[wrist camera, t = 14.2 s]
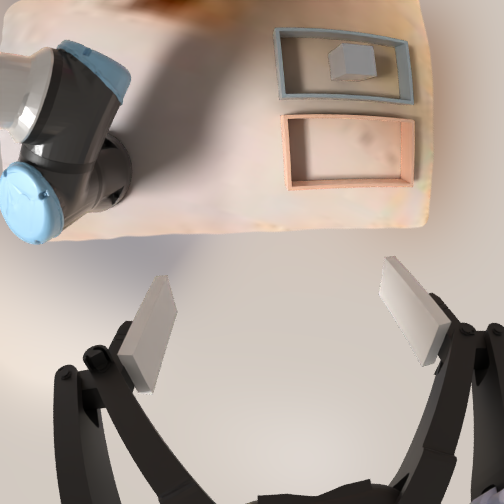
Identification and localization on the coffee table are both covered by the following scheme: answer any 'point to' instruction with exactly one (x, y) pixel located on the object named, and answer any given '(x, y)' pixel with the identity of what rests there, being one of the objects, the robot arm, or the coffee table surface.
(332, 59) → the stone block
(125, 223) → the coffee table surface
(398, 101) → the trough
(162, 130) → the coffee table surface
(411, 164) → the trough
